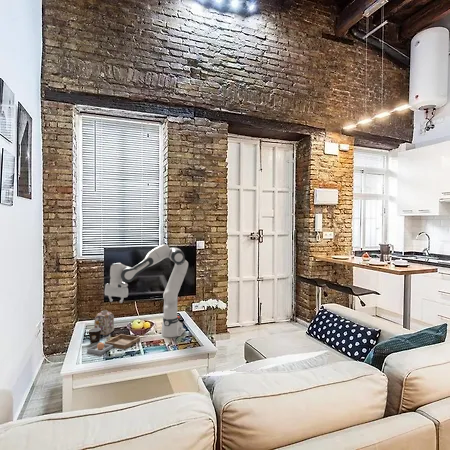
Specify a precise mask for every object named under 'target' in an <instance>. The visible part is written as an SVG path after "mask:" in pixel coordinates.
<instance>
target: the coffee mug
mask: <svg viewBox="0 0 450 450" xmlns="http://www.w3.org/2000/svg"><path fill="white" fill-rule="evenodd" d="M86 333H87V334H88V336H89V337H88V336H86V335H85V334H86ZM100 333H101V329H100V328H90V329H89V330H88V331H84V333H83V336H84V338H86V339H88V340H89V342H90V345H93V344H98V343H100V339H101V335H100Z"/></svg>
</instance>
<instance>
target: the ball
mask: <svg viewBox="0 0 450 450" xmlns="http://www.w3.org/2000/svg"><path fill="white" fill-rule="evenodd" d="M97 344H98V345H97V350H100V351H101V350H103V349H105V347H104V344H105V342H100V341H99V342H98V343H97Z"/></svg>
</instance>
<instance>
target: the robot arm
mask: <svg viewBox="0 0 450 450" xmlns="http://www.w3.org/2000/svg"><path fill="white" fill-rule="evenodd" d="M167 258H168V259H170V261H172V262H173V263H174V266H173V269H172V272H171V274H170V276H169V279H168V281H167V284H166V287H165V289H164V291H163V294H162V296H163V300H164V301H163V317H162V323H161V331H160V334H161V336H162V337H164V338H177V337H181V336H182V335H183V334H184V332H185V331H186V328H184V326H183V323H182V322H181V321H179V319H180V318H181V316H179V315H178V295H179V292H180V290H181V288H182V287H181V286H182V285H183V282H184V279H185V277H186V275H187V272H188V269H189V262H188V261H187V260H186V259H185V254H184V251H182V250H181V249H180V248H179V247H176V246H169V245H167V244H165V243H164V244H161V245H159V246H156V247H154V248H153V249H151V250H150V251H148V253H147V254H146V255H145V257H144V259H143V260H142V261H140V262H139V263H138V264H136V265H134V266H133V267H131V266H128V265H125V264H123V263H121V262H116V263H115V262H114V263H112V264H110V269H109V277H110V279H109V283H106V284H104V296H107V297H108V299H109V302H110V303H112V302H113V300H114V299H113V298H112V297H117V298H120V300H119V303H120V304H122V303H123V302H124V298H128V296H129V288H128V286H129V284H128V283H131V282H132V281H134V280H135V279H136V277H137V276H138V275H139V274H141V273H142V272H143V271H145V270H146V269H148V268H149V267H152V266H154V265H156V264H159V263H160V262H161V261H163V260H164V259H167Z"/></svg>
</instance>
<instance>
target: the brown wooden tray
mask: <svg viewBox="0 0 450 450" xmlns="http://www.w3.org/2000/svg"><path fill="white" fill-rule="evenodd" d="M139 341H141V337H140V336H136V335H135V336H134V335H129V334H123V333H120V334H118V335H116V336H114V337H112V338H110V339H108V340H106V341H105V342H104V344H110V345H113V348H118V349H123V350H126V349H127V348H129V347H131V346H133V345H134V344H136V343H137V342H139Z"/></svg>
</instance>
